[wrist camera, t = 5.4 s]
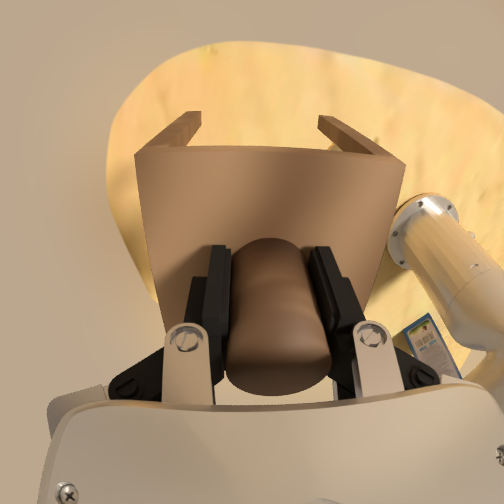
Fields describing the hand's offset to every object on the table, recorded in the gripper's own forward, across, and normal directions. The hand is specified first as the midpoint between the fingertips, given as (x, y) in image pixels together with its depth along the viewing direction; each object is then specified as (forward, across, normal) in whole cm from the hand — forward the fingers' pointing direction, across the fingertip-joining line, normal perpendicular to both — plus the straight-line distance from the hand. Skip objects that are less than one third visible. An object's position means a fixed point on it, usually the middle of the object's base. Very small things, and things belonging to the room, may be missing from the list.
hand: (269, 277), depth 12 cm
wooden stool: (+11, 0, 0) cm, 11 cm away
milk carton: (+24, -35, +34) cm, 55 cm away
